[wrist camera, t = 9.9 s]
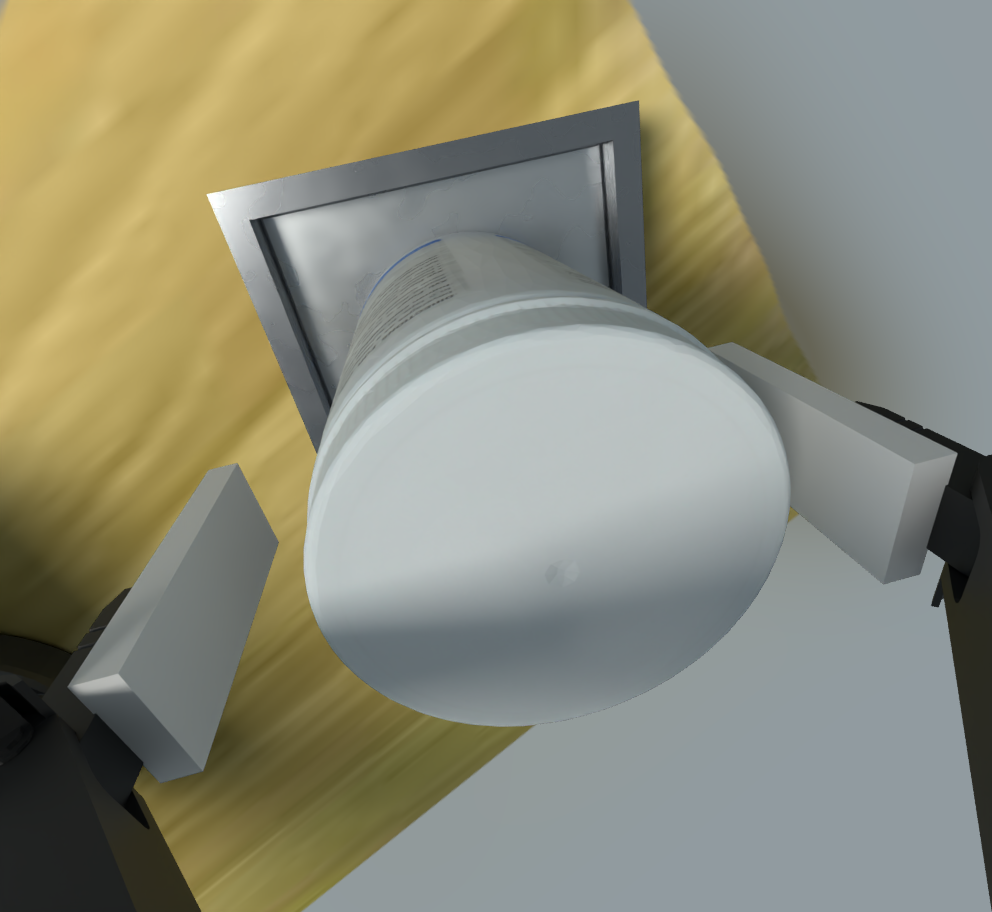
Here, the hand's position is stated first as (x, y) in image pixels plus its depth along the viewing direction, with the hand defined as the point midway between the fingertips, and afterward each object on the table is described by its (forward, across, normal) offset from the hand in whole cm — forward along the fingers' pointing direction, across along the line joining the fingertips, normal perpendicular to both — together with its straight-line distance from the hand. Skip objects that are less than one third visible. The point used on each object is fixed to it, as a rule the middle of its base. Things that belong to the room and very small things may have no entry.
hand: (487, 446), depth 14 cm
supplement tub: (+9, +1, 0) cm, 9 cm away
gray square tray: (+12, +1, 0) cm, 12 cm away
